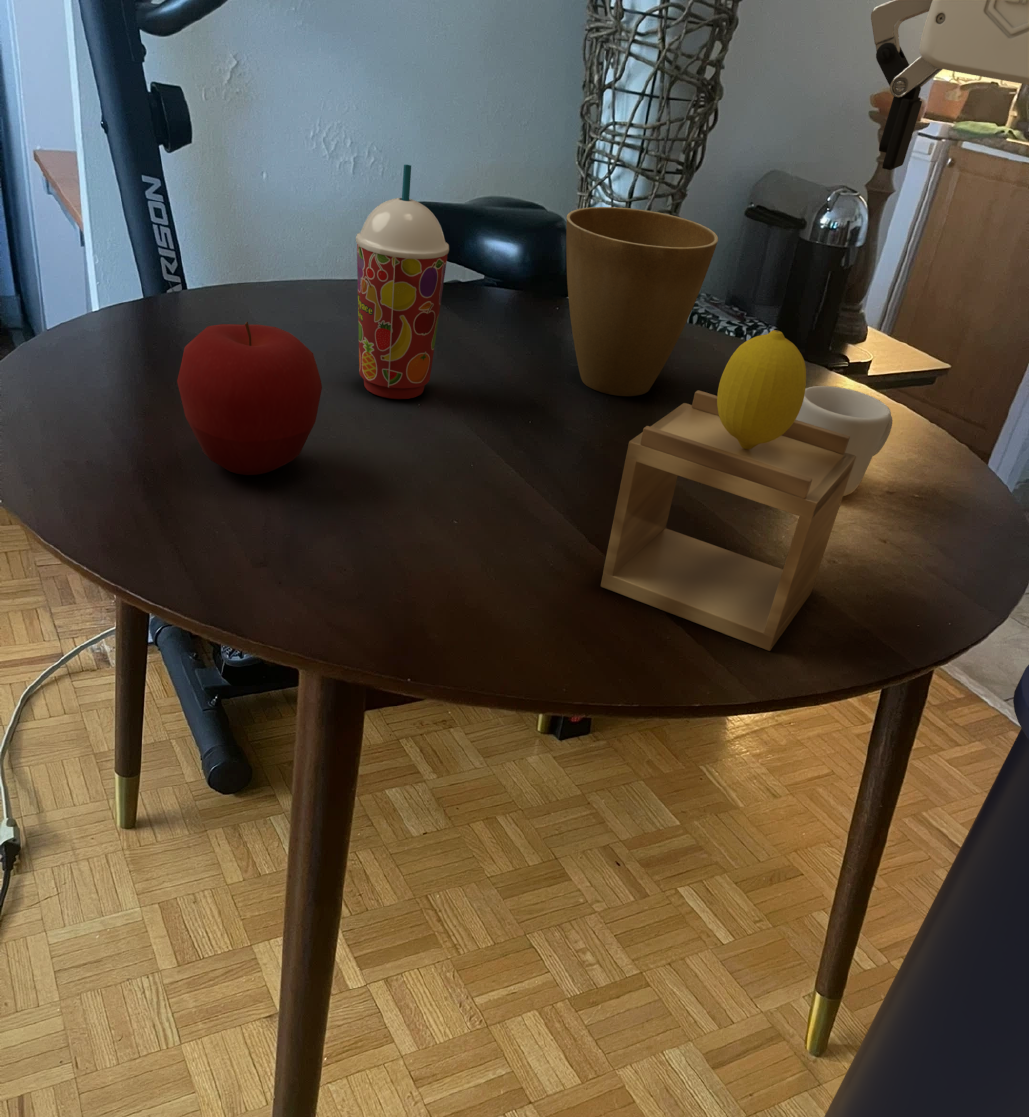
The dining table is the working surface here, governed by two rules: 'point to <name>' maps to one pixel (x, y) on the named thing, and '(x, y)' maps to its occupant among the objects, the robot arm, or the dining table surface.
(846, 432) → the cup
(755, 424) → the lemon
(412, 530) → the dining table surface
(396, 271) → the smoothie
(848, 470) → the shelf
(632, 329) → the plant pot
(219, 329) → the apple
